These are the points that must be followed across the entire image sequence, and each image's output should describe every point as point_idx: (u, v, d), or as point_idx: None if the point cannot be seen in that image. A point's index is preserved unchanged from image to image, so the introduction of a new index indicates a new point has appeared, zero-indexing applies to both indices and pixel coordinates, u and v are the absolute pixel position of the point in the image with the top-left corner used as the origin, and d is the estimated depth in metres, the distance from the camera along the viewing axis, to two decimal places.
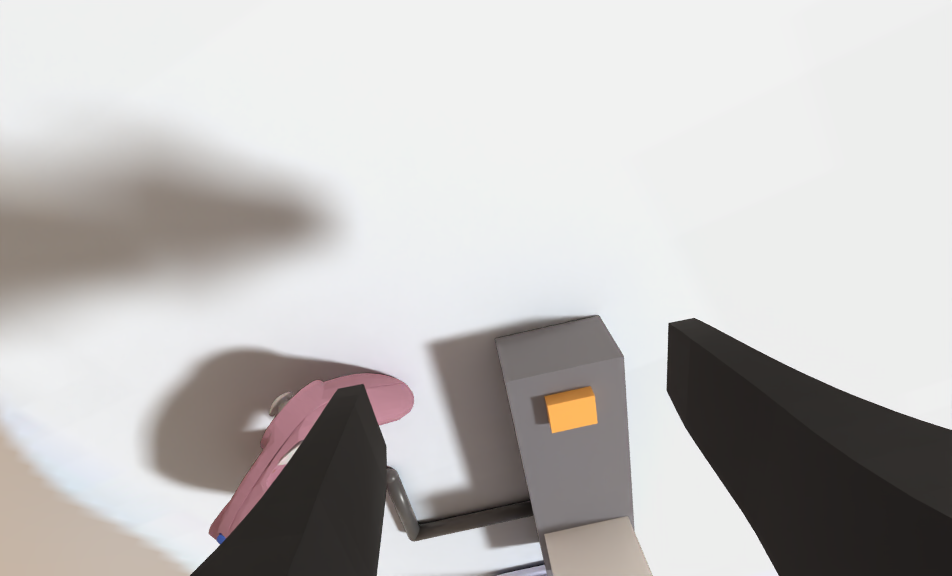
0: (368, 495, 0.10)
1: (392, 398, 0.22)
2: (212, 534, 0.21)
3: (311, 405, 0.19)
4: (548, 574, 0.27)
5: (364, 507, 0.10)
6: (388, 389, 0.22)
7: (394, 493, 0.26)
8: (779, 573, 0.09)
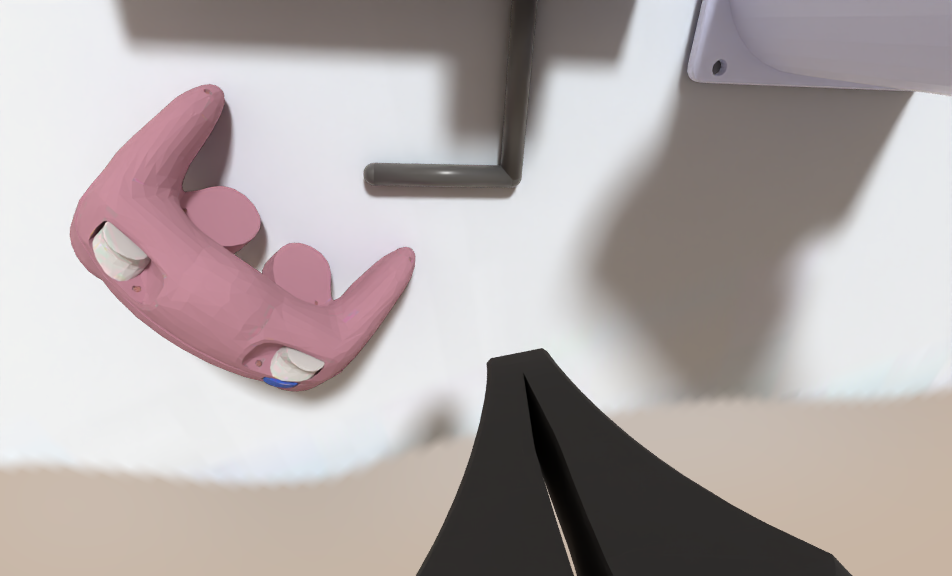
0: None
1: None
2: (284, 388, 0.17)
3: (75, 211, 0.14)
4: None
5: None
6: (160, 113, 0.15)
7: (399, 178, 0.18)
8: None
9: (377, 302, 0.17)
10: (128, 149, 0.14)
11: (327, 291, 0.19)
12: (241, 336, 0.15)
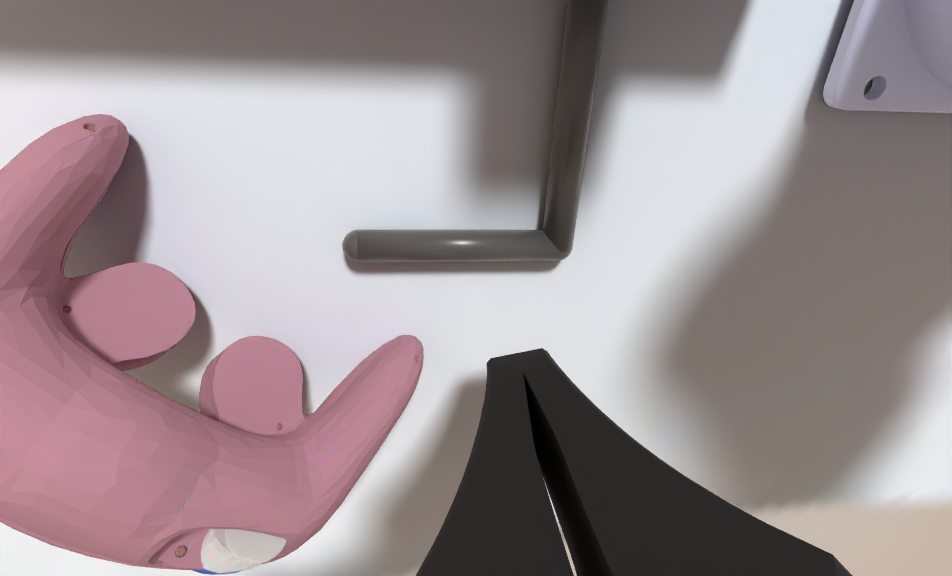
0: None
1: (11, 160, 0.09)
2: None
3: None
4: None
5: None
6: None
7: (395, 253, 0.12)
8: None
9: (368, 431, 0.12)
10: None
11: (297, 405, 0.13)
12: (141, 532, 0.09)
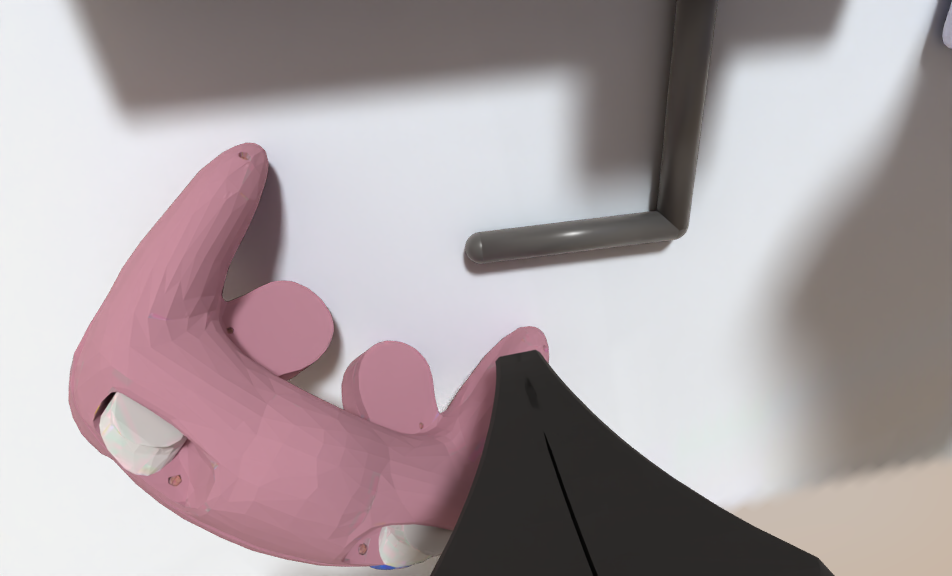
0: None
1: (180, 195, 0.10)
2: None
3: (71, 370, 0.09)
4: None
5: None
6: (179, 196, 0.10)
7: (518, 250, 0.12)
8: None
9: None
10: (137, 266, 0.09)
11: (432, 403, 0.13)
12: (339, 532, 0.09)
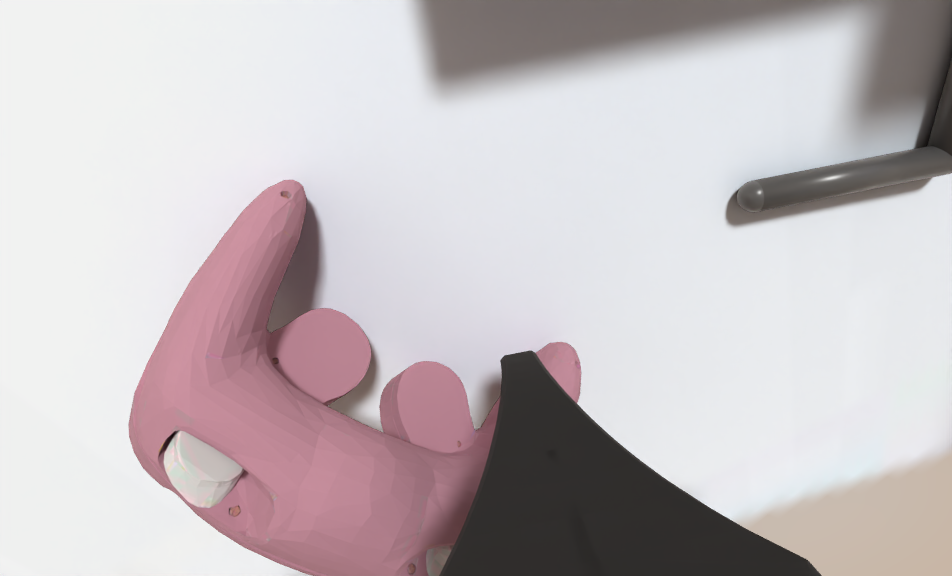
0: None
1: (227, 235, 0.10)
2: None
3: (132, 408, 0.10)
4: None
5: None
6: (224, 236, 0.10)
7: (798, 195, 0.12)
8: None
9: None
10: (191, 307, 0.09)
11: (468, 421, 0.14)
12: (392, 555, 0.10)
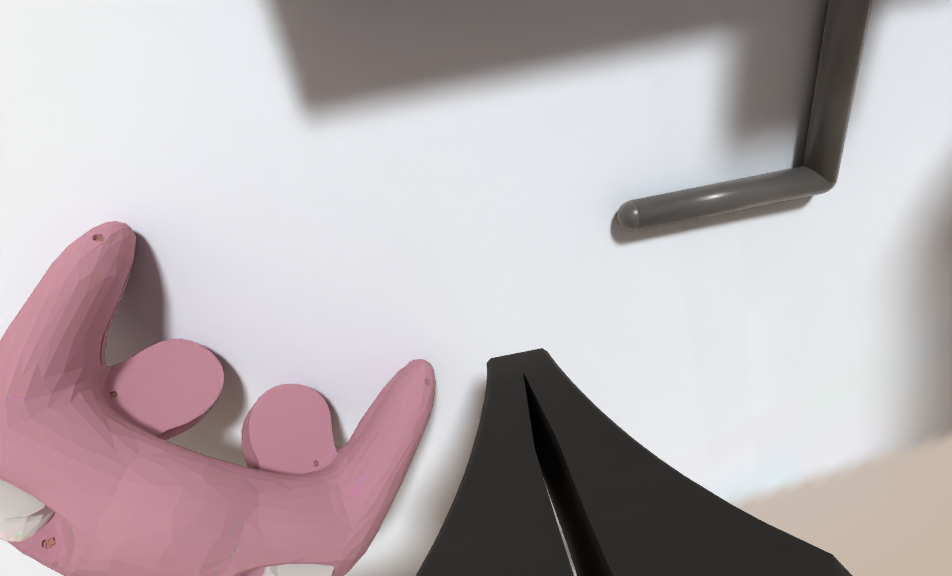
0: None
1: (41, 279, 0.11)
2: None
3: None
4: None
5: None
6: None
7: (673, 214, 0.13)
8: None
9: (392, 456, 0.13)
10: None
11: (330, 441, 0.14)
12: None
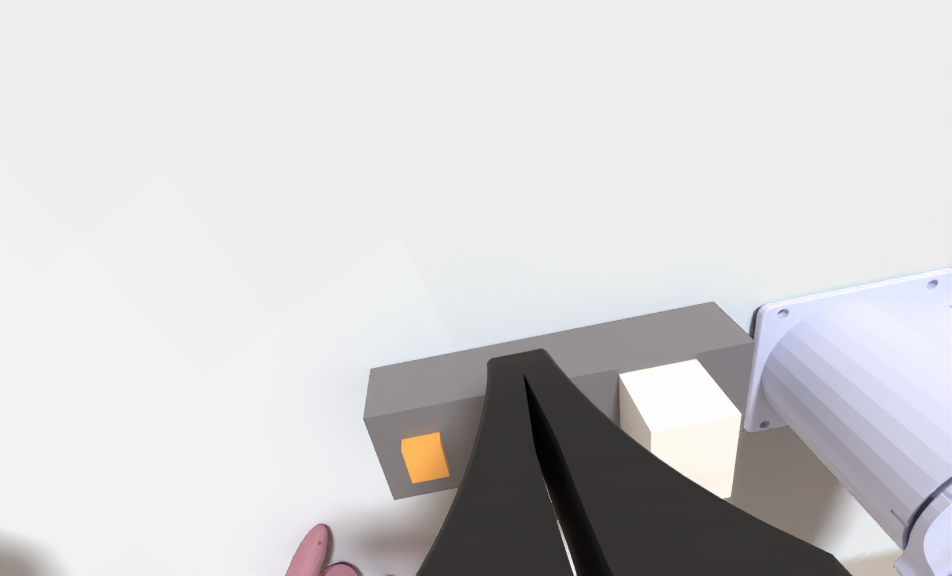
0: None
1: (297, 562, 0.26)
2: None
3: None
4: None
5: None
6: (295, 558, 0.26)
7: None
8: None
9: None
10: None
11: None
12: None
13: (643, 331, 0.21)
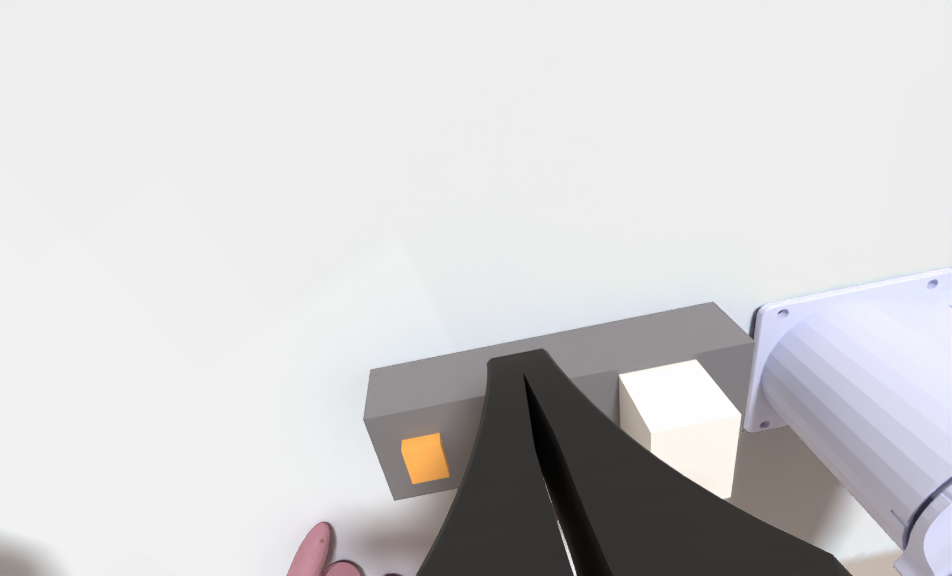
0: None
1: (300, 560, 0.25)
2: None
3: None
4: None
5: None
6: (298, 556, 0.26)
7: None
8: None
9: None
10: None
11: None
12: None
13: (643, 332, 0.21)
